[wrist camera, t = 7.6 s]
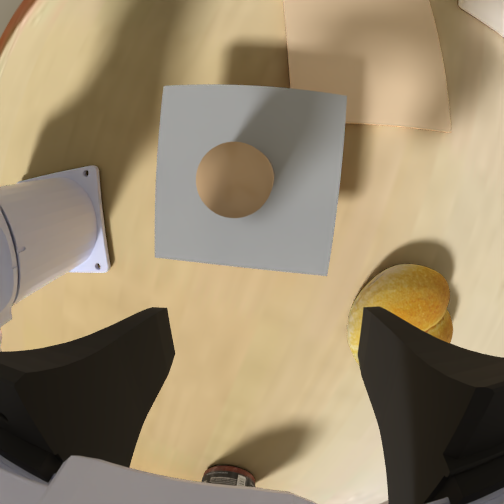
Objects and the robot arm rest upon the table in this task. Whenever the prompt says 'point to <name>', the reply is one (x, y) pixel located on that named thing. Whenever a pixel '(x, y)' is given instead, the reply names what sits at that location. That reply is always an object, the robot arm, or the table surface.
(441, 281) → the bread roll
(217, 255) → the lid
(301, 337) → the table surface
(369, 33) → the mat
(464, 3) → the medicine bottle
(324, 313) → the table surface
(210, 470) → the supplement bottle
